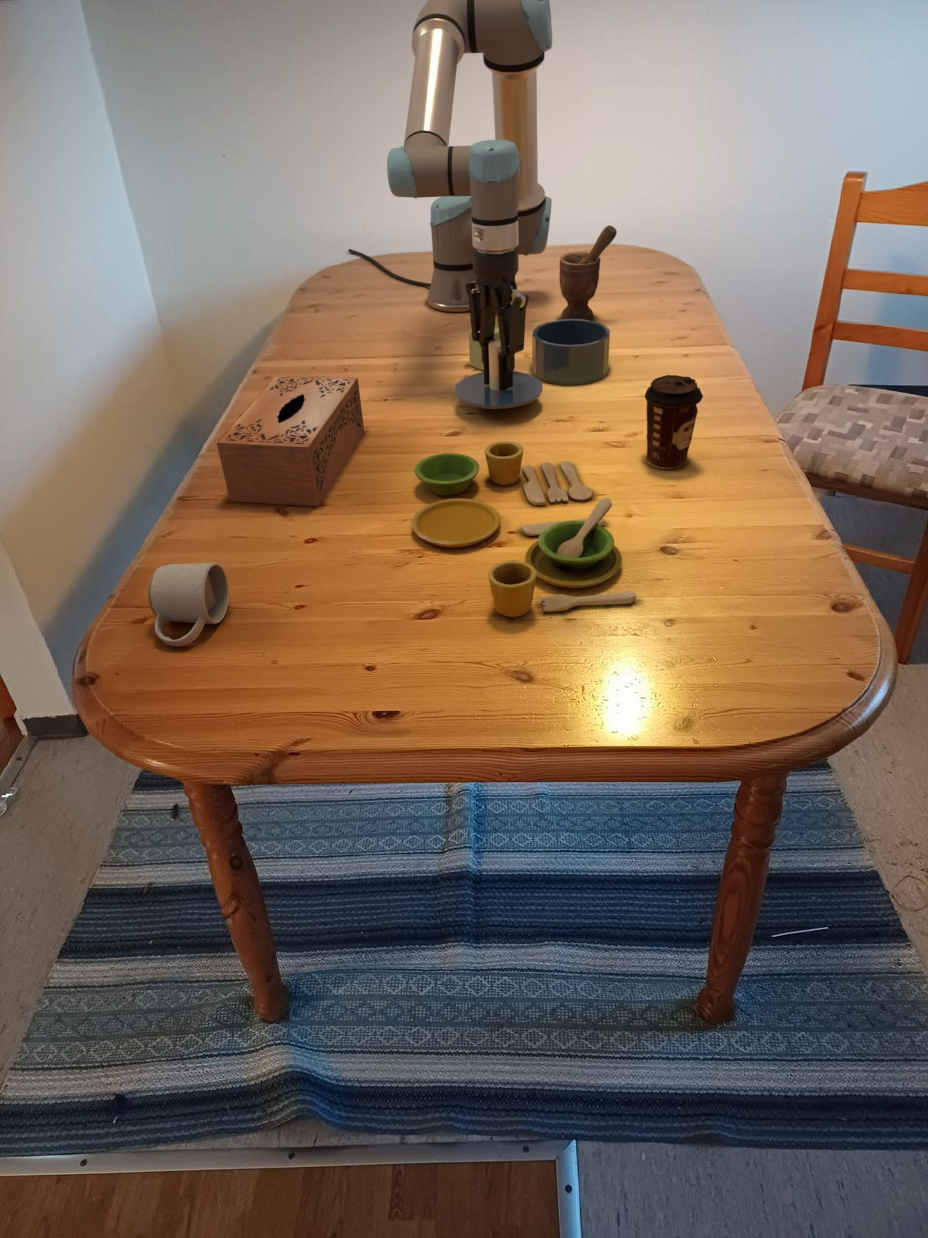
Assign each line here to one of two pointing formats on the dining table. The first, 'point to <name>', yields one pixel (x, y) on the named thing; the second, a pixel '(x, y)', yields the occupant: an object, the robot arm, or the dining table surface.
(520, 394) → the bowl lid
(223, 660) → the dining table surface
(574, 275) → the mortar and pestle
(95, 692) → the dining table surface
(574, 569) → the tableware set
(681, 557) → the dining table surface
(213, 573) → the ceramic mug
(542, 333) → the bowl
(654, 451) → the coffee cup
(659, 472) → the dining table surface
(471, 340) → the block
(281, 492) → the tissue box cover
